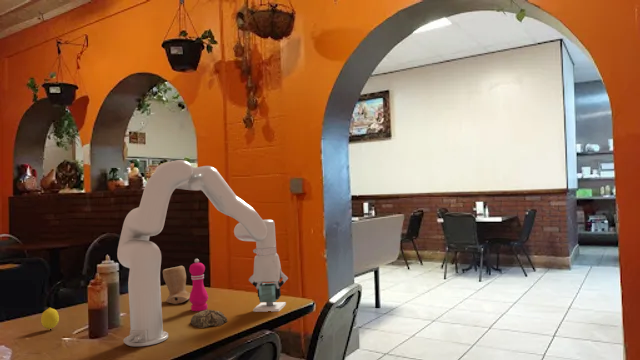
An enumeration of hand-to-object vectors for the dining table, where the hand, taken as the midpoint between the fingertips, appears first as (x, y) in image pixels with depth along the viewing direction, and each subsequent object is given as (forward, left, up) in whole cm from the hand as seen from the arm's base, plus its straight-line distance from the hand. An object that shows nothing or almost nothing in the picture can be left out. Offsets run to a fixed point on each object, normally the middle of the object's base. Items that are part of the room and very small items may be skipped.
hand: (269, 298), depth 181 cm
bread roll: (-19, +16, -4) cm, 25 cm away
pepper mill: (0, +29, -4) cm, 29 cm away
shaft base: (0, 0, -4) cm, 4 cm away
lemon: (-26, +74, -4) cm, 79 cm away
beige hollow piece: (+15, +46, -4) cm, 49 cm away
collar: (0, 0, -1) cm, 1 cm away
